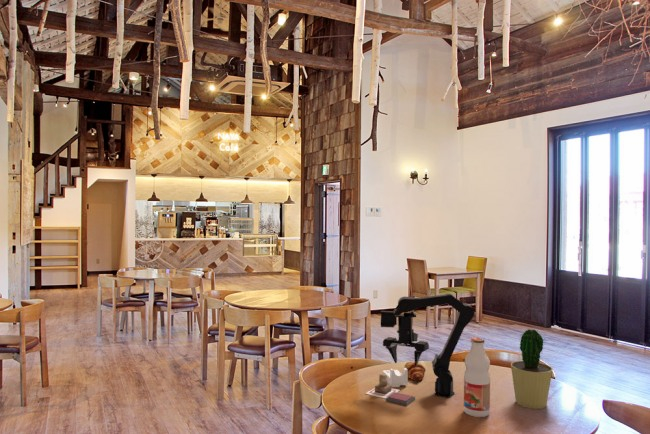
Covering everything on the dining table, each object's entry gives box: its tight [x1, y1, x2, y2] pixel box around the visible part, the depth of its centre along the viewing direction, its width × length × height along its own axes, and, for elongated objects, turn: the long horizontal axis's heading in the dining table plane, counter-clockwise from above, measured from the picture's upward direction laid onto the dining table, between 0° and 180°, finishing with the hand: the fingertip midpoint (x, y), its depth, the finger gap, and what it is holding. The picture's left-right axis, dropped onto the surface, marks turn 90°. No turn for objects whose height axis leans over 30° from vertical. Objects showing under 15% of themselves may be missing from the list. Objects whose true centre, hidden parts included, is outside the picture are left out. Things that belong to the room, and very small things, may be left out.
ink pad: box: [385, 392, 416, 407], centre depth 201 cm, size 9×8×2 cm
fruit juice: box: [463, 336, 491, 418], centre depth 189 cm, size 9×9×28 cm
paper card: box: [365, 387, 401, 400], centre depth 210 cm, size 10×12×1 cm
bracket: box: [382, 367, 409, 388], centre depth 223 cm, size 13×7×8 cm, turn 11°
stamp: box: [374, 373, 392, 395], centre depth 210 cm, size 5×5×7 cm
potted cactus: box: [510, 328, 553, 410], centre depth 199 cm, size 15×15×30 cm
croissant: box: [403, 361, 426, 381], centre depth 233 cm, size 21×10×8 cm, turn 2°
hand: (405, 364), depth 211 cm, fingers open, 9 cm apart
